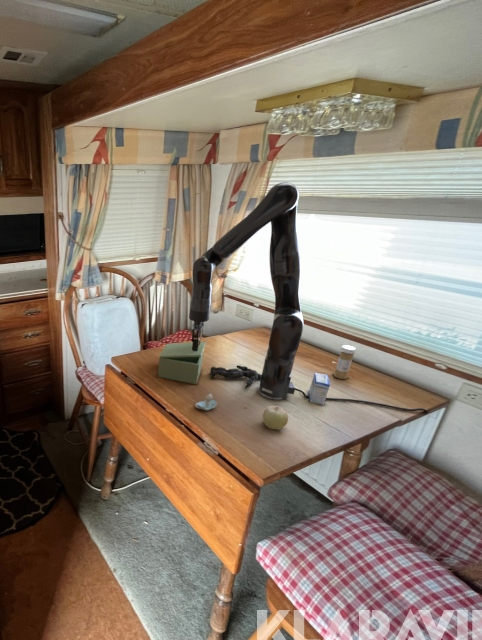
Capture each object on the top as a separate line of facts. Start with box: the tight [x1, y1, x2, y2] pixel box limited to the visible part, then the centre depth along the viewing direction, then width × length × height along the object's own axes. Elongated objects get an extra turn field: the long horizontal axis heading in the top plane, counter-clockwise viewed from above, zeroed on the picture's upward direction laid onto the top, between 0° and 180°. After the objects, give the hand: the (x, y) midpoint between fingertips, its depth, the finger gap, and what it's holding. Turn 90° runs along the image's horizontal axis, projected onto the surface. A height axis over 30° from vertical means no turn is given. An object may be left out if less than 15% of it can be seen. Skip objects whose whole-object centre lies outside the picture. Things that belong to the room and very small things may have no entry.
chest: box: [157, 352, 204, 385], centre depth 150 cm, size 16×14×9 cm
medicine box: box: [308, 372, 331, 405], centre depth 131 cm, size 8×4×9 cm, turn 152°
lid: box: [159, 338, 207, 358], centre depth 147 cm, size 16×14×5 cm
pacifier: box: [194, 393, 218, 411], centre depth 127 cm, size 7×6×6 cm
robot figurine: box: [210, 365, 262, 389], centre depth 146 cm, size 18×4×20 cm
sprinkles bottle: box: [333, 344, 356, 380], centre depth 145 cm, size 5×5×13 cm
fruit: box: [262, 405, 289, 430], centre depth 116 cm, size 8×7×8 cm
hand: (195, 347), depth 145 cm, fingers closed on lid, 5 cm apart
